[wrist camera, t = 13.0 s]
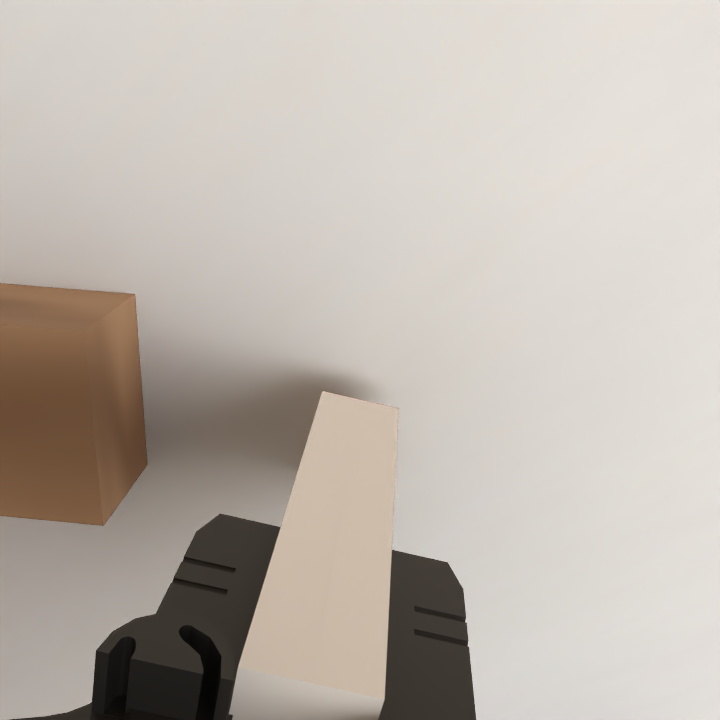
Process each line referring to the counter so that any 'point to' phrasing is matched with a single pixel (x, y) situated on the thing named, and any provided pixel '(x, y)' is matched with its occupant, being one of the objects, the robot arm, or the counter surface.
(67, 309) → the walnut block
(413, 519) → the counter surface
